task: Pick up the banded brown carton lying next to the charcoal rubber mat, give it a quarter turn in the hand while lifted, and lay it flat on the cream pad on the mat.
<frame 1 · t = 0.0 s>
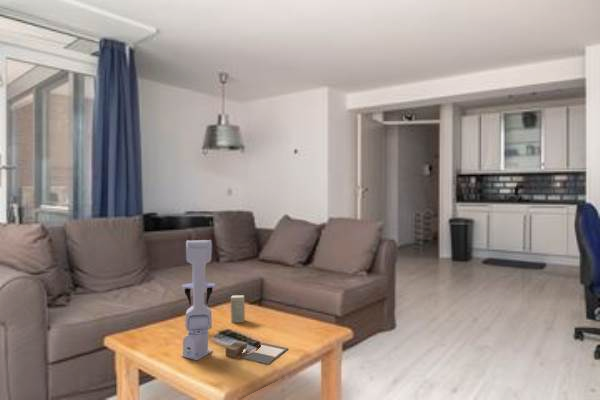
hand: (198, 303, 189), 11 cm above the table, tool pointing down, fingers open, 7 cm apart
mat: (265, 353, 159), on the table
banded brown carton: (236, 354, 159), on the table
skincare box: (237, 321, 196), on the table
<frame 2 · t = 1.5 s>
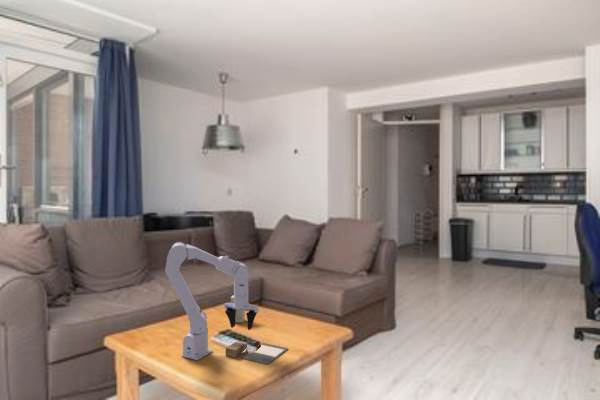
hand: (241, 327, 162), 9 cm above the table, tool pointing down, fingers open, 7 cm apart
nothing on the table moved.
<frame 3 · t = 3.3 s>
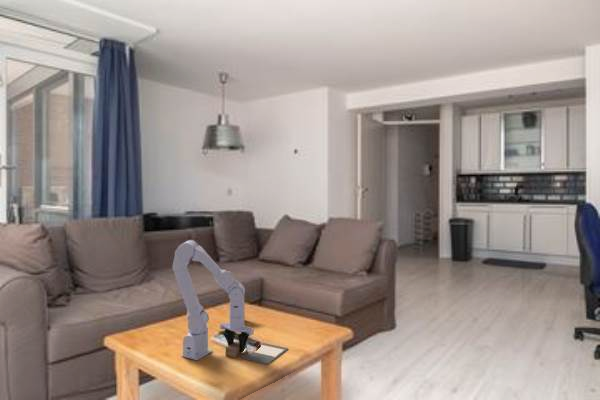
hand: (236, 349, 159), 1 cm above the table, tool pointing down, fingers closed on banded brown carton, 4 cm apart
banded brown carton: (236, 353, 159), on the table, touching gripper
everything else where it was.
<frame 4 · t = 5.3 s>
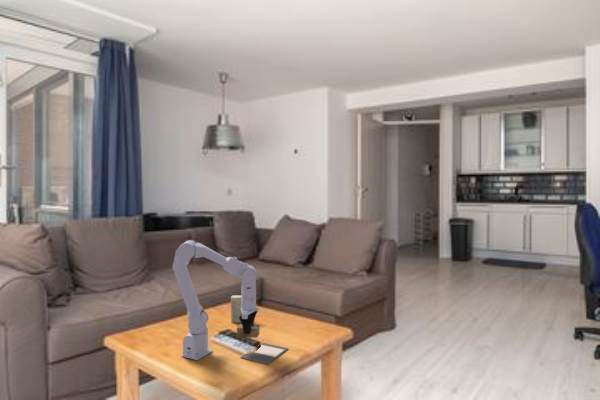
hand: (248, 331, 160), 8 cm above the table, tool pointing down, fingers closed on banded brown carton, 4 cm apart
banded brown carton: (248, 335, 160), point 7 cm above the table, touching gripper
everything else where it was.
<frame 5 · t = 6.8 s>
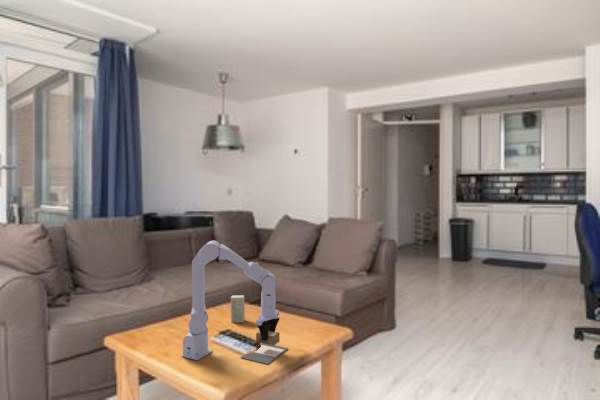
hand: (267, 337, 161), 6 cm above the table, tool pointing down, fingers closed on banded brown carton, 4 cm apart
banded brown carton: (267, 341, 161), point 4 cm above the table, touching gripper
everything else where it was.
when the fingers open (3 cm above the table, at t = 7.7 s): banded brown carton stays where it is, resting on mat.
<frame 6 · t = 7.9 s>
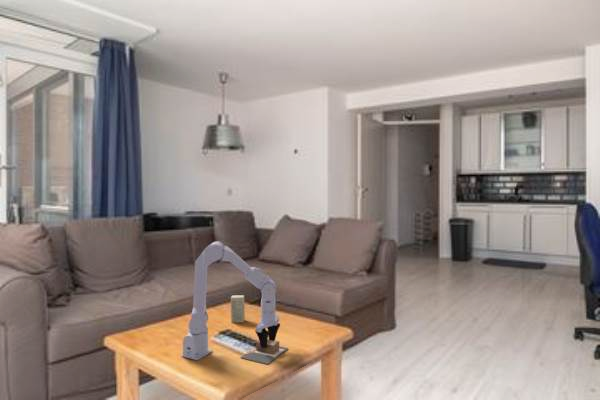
hand: (267, 344, 161), 3 cm above the table, tool pointing down, fingers open, 6 cm apart
banded brown carton: (267, 350, 161), resting on mat
everything else where it was.
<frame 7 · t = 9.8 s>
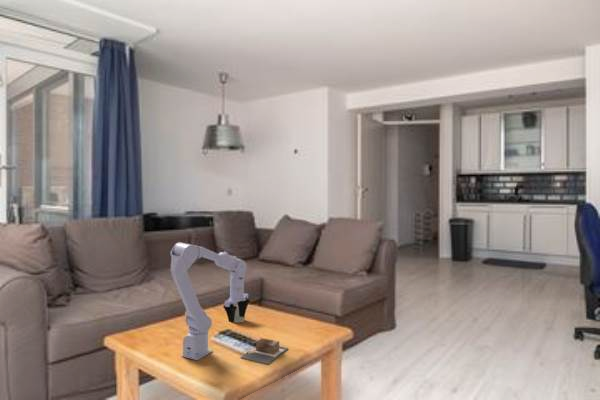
hand: (236, 319, 171), 9 cm above the table, tool pointing down, fingers open, 7 cm apart
nothing on the table moved.
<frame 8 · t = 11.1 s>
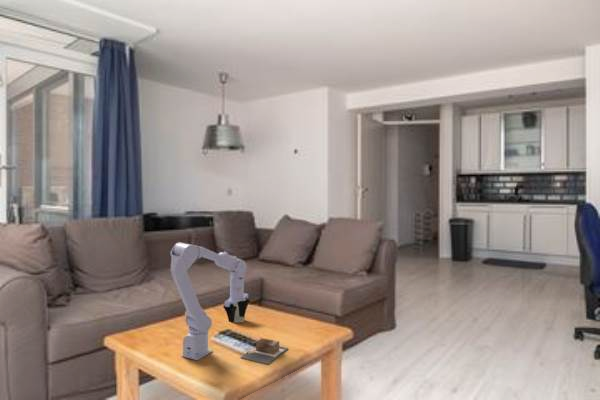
hand: (236, 319, 171), 9 cm above the table, tool pointing down, fingers open, 7 cm apart
nothing on the table moved.
at the end: banded brown carton inside the target area on the mat (0.1 cm from its centre), point 0.5 cm above the mat's base; banded brown carton tilted 0°; the gripper is holding nothing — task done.
